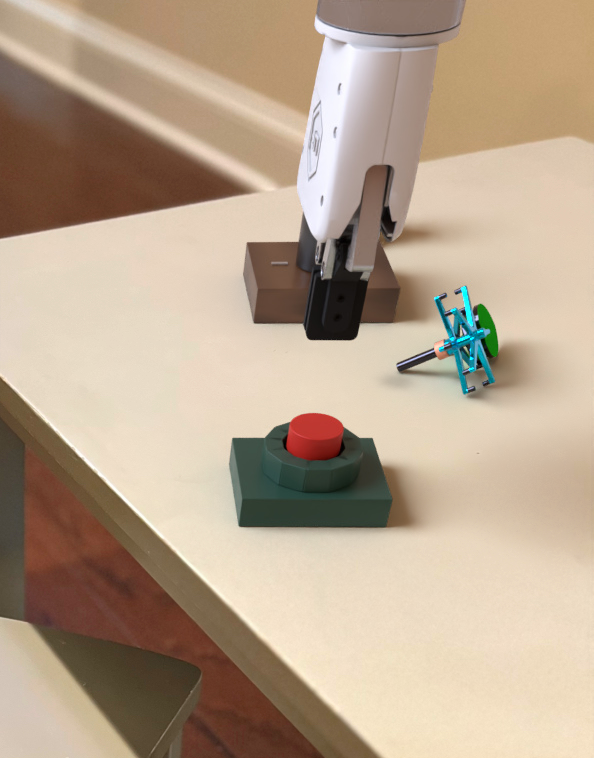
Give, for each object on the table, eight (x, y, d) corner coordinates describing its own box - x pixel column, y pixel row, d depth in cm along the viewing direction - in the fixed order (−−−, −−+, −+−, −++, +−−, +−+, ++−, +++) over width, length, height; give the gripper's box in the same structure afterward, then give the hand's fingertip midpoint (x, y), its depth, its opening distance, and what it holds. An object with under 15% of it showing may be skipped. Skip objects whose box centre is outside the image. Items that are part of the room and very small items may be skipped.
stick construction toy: (486, 388, 88) (455, 286, 87) (397, 422, 93) (366, 325, 91) (523, 368, 97) (495, 275, 96) (440, 400, 102) (412, 311, 100)
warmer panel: (373, 274, 108) (380, 238, 106) (393, 322, 101) (401, 286, 99) (242, 274, 109) (246, 240, 107) (253, 323, 102) (257, 287, 100)
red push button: (335, 435, 82) (339, 412, 80) (343, 462, 79) (347, 439, 78) (283, 435, 82) (286, 412, 81) (289, 462, 79) (293, 439, 78)
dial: (293, 253, 105) (303, 184, 101) (343, 253, 104) (355, 184, 100) (297, 273, 102) (308, 204, 98) (349, 274, 101) (362, 204, 97)
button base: (366, 464, 86) (377, 414, 83) (386, 527, 80) (398, 475, 77) (228, 464, 86) (234, 414, 83) (238, 526, 81) (245, 475, 78)
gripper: (301, -36, 67) (257, 284, 80) (340, 36, 56) (283, 391, 70) (434, -37, 67) (369, 285, 80) (499, 35, 56) (411, 392, 69)
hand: (329, 334), depth 75 cm, fingers closed
